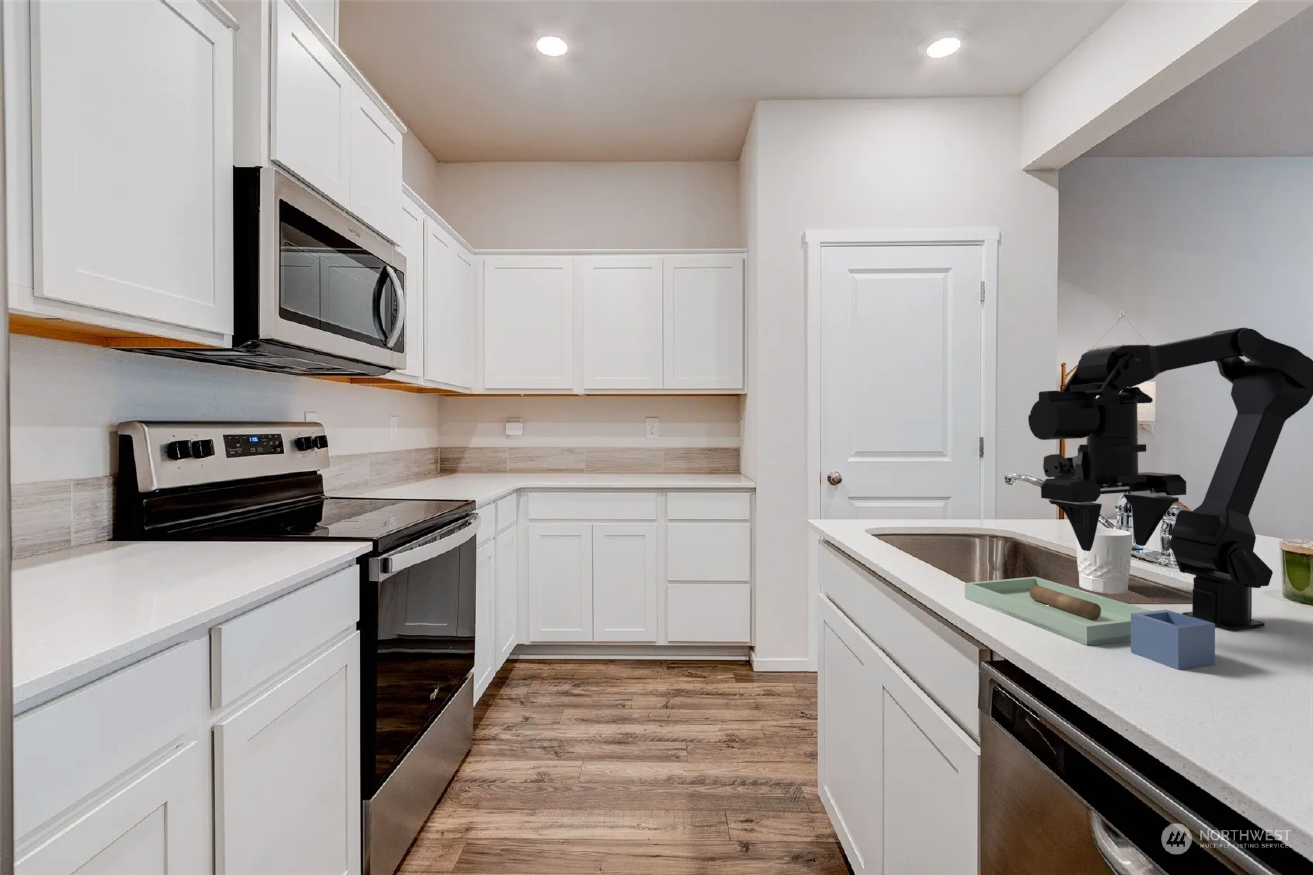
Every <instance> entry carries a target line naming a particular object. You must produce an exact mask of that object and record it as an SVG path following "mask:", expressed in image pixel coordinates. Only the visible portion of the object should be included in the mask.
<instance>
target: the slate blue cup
mask: <svg viewBox="0 0 1313 875" xmlns="http://www.w3.org/2000/svg"><path fill="white" fill-rule="evenodd" d="M1130 652H1131V653H1132V654H1135V655H1137V656H1140V657H1144V658H1146V659H1149V660H1152V661H1155V662H1157V663H1160V664H1162V665H1165V666H1168V667H1170V668H1173V669H1176V670H1183V669H1184V670H1185V669H1190V668H1192V667H1193V668H1198V667H1205V666H1212V665H1213V666H1214V665H1216V626H1215V623H1211V622H1208V621H1204V620H1201V619H1197V618H1194V617H1190V616H1187V615H1183V614H1182V613H1179V612H1175V611H1172V610H1168V609H1160V610H1159V609H1157V610H1150V611H1149V612H1140V613H1131V640H1130Z"/></svg>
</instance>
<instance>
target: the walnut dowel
mask: <svg viewBox="0 0 1313 875" xmlns="http://www.w3.org/2000/svg"><path fill="white" fill-rule="evenodd" d="M1030 597H1031V598H1032V599H1033V600H1035V601H1038V602H1041V603H1044V604H1047V605H1050V606H1053V607H1056V608H1059V609H1062V610H1065V611H1068V612H1071V613H1073V614H1076V615H1079V616H1082V617H1085V618H1088V619H1091V620H1096V619H1098V618H1099V617H1100V614H1101V608H1100V606H1099V605H1098V604H1096V603H1093V602H1089V601H1086V600H1083V599H1080V598H1077V597H1073V596H1070V595H1067V594H1064V593H1060V592H1057V591H1054V590H1051V589H1048V588H1044V587H1041V586H1038V585H1035V586H1033V587H1032V588H1031V590H1030Z"/></svg>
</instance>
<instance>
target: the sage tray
mask: <svg viewBox="0 0 1313 875" xmlns="http://www.w3.org/2000/svg"><path fill="white" fill-rule="evenodd" d="M1035 585H1038V586H1041V587H1044V588H1048V589H1051V590H1054V591H1057V592H1060V593H1064V594H1067V595H1070V596H1073V597H1077V598H1080V599H1083V600H1086V601H1089V602H1093V603H1096V604H1098V605H1099V606H1100V608H1101V614H1100V617H1099V618H1098V619H1096V620H1091V619H1088V618H1085V617H1082V616H1079V615H1076V614H1073V613H1071V612H1068V611H1065V610H1062V609H1059V608H1056V607H1053V606H1050V605H1049V606H1046V605H1047V604H1044V603H1041V602H1038V601H1035V600H1033V599H1032V598H1031V597H1030V590H1031V588H1032V587H1033V586H1035ZM964 598H965V599H967V600H970V601H972V602H974V603H976V604H979V605H982V606H985V607H987V608H990V609H992V610H995V611H997V612H1000V613H1002V614H1005V615H1008V616H1010V617H1013V618H1015V619H1018V620H1021V621H1023V622H1025V623H1028V624H1031V625H1033V626H1036V627H1039V628H1041V629H1043V630H1047V631H1048V632H1051V633H1053V634H1056V635H1059V636H1062V637H1064V638H1067V639H1069V640H1072V641H1075V642H1076V643H1080V644H1082V645H1085V646H1094V645H1102V644H1109V643H1117V642H1124V641H1125V642H1126V641H1127V642H1128V641H1131V613H1140V612H1149V611H1151V610H1150V609H1147V608H1142V607H1139V606H1136V605H1132V604H1129V603H1127V602H1123V601H1121V600H1120V601H1119V600H1116V599H1112V598H1109V597H1105V596H1103V595H1099V594H1096V593H1092V592H1088V591H1086V590H1081V589H1079V588H1075V587H1072V586H1069V585H1064V584H1061V583H1057V582H1054V581H1051V580H1048V579H1044V578H1042V577H1038V576H1029V577H1018V578H1007V579H997V580H995V579H994V580H985V581H984V580H983V581H974V582H973V581H972V582H965V583H964Z"/></svg>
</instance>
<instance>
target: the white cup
mask: <svg viewBox="0 0 1313 875" xmlns="http://www.w3.org/2000/svg"><path fill="white" fill-rule="evenodd" d="M1074 536H1075V553H1076V564H1077V571H1078V582H1079V584H1078V585H1079V587H1080V588H1082V589H1083V590H1085V591H1086V590H1087V591H1091V592H1095V593H1101V594H1110V595H1111V594H1112V595H1119V594H1121V595H1122V594H1127V593H1129V592H1128V591H1129V578H1130V573H1131V572H1130V571H1131V564H1132V563H1131V562H1132V561H1131V560H1132V546H1133V533H1132V532H1131V531H1128V530H1124V529H1118V528H1111V527H1110V528H1109V527H1098V526H1097V529H1096V534H1095V538H1094V542H1093V545H1092V548H1091V551H1084V550H1082V549H1081V546H1080V544H1079V542H1078V539H1077V537H1076V535H1075V534H1074Z"/></svg>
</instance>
